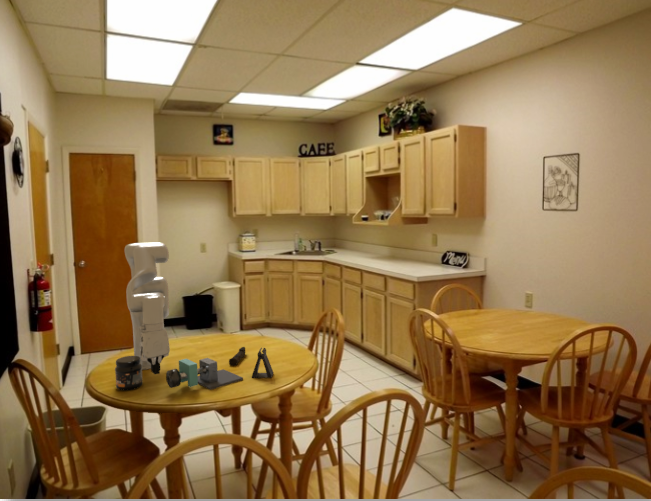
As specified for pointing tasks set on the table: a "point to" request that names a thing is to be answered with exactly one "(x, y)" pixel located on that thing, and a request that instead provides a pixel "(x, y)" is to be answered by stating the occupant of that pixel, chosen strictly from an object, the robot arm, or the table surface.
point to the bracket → (209, 370)
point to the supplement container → (128, 373)
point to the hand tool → (237, 357)
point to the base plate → (221, 380)
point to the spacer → (189, 371)
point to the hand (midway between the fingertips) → (155, 373)
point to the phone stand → (266, 363)
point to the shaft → (179, 376)
